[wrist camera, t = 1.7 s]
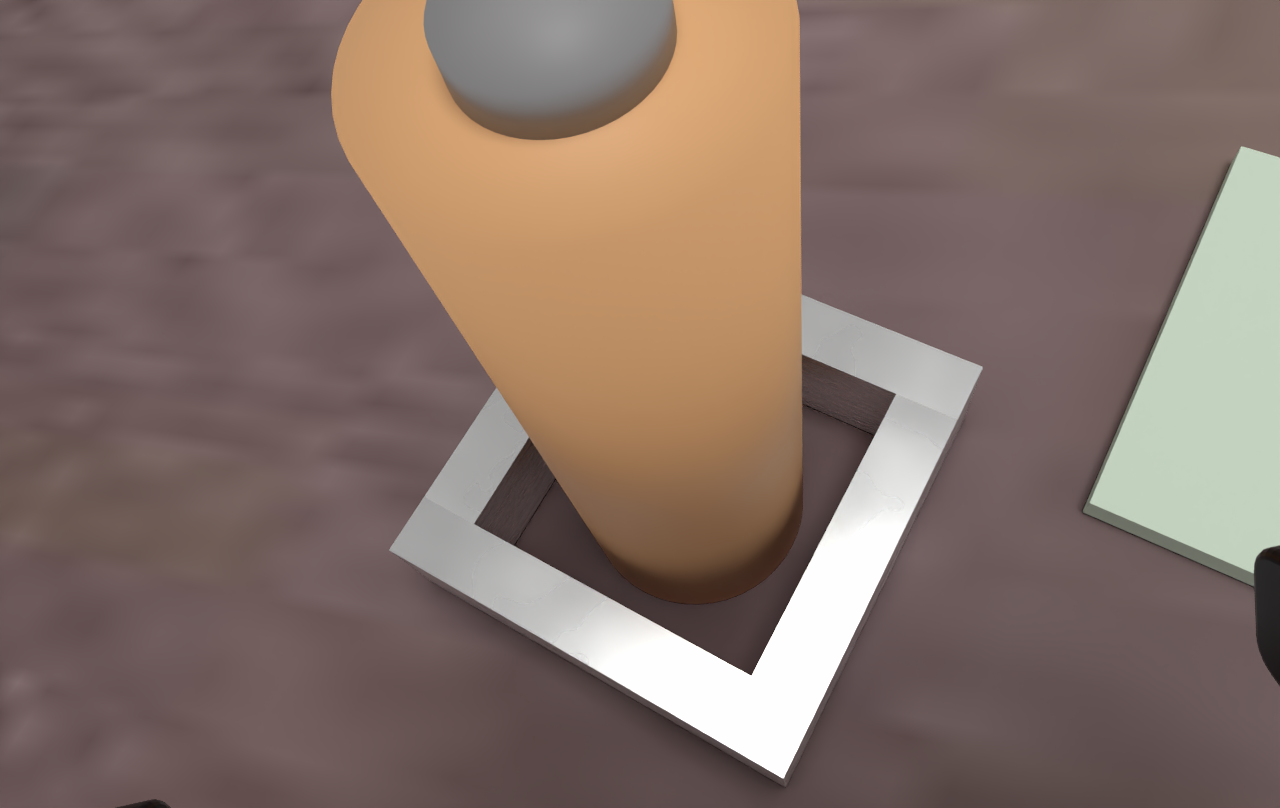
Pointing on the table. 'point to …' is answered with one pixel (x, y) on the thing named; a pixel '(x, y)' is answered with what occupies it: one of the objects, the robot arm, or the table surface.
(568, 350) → the plug
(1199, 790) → the table surface
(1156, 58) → the table surface
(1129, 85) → the table surface
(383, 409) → the table surface
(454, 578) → the frame
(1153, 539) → the mat
